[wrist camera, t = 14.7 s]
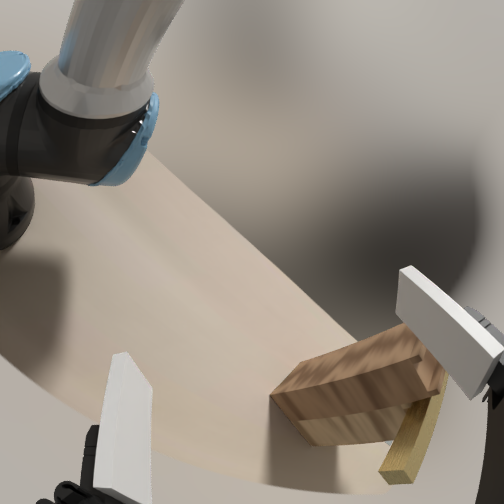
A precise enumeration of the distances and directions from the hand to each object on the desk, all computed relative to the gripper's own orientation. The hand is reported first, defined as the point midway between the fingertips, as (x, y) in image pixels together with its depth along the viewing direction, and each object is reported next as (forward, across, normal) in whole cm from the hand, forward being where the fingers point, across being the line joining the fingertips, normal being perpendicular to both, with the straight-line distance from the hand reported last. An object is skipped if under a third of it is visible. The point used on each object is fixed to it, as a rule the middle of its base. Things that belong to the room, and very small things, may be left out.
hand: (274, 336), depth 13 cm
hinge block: (+17, +4, -35) cm, 39 cm away
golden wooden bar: (+3, +15, -24) cm, 29 cm away
